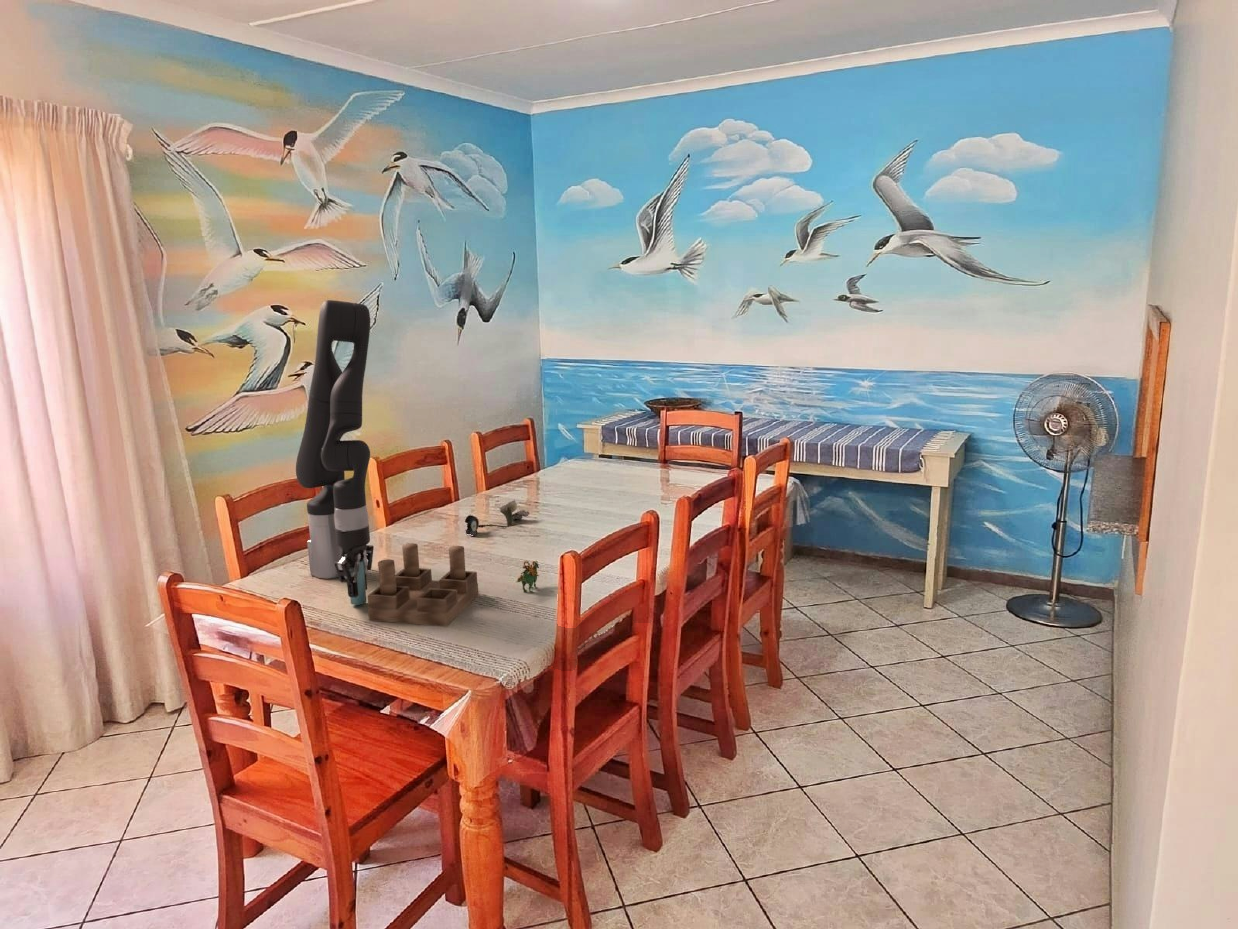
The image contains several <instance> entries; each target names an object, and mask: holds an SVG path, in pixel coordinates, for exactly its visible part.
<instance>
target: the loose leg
mask: <svg viewBox="0 0 1238 929" xmlns="http://www.w3.org/2000/svg"><path fill="white" fill-rule="evenodd" d="M348 568H349V569H354V568H355V567H354V568H352V567H348ZM350 574H351V576H352V573H350ZM356 582H357V586H358V596H357V597H349V598H350V604H351V605H353V606H354V605H355V606H359V605H363V604H366V603H367V602H368V598H367V590H366V587H365V575H364V564H363V561H361V562H360V563H359V572H358V573H357V581H356Z"/></svg>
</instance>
